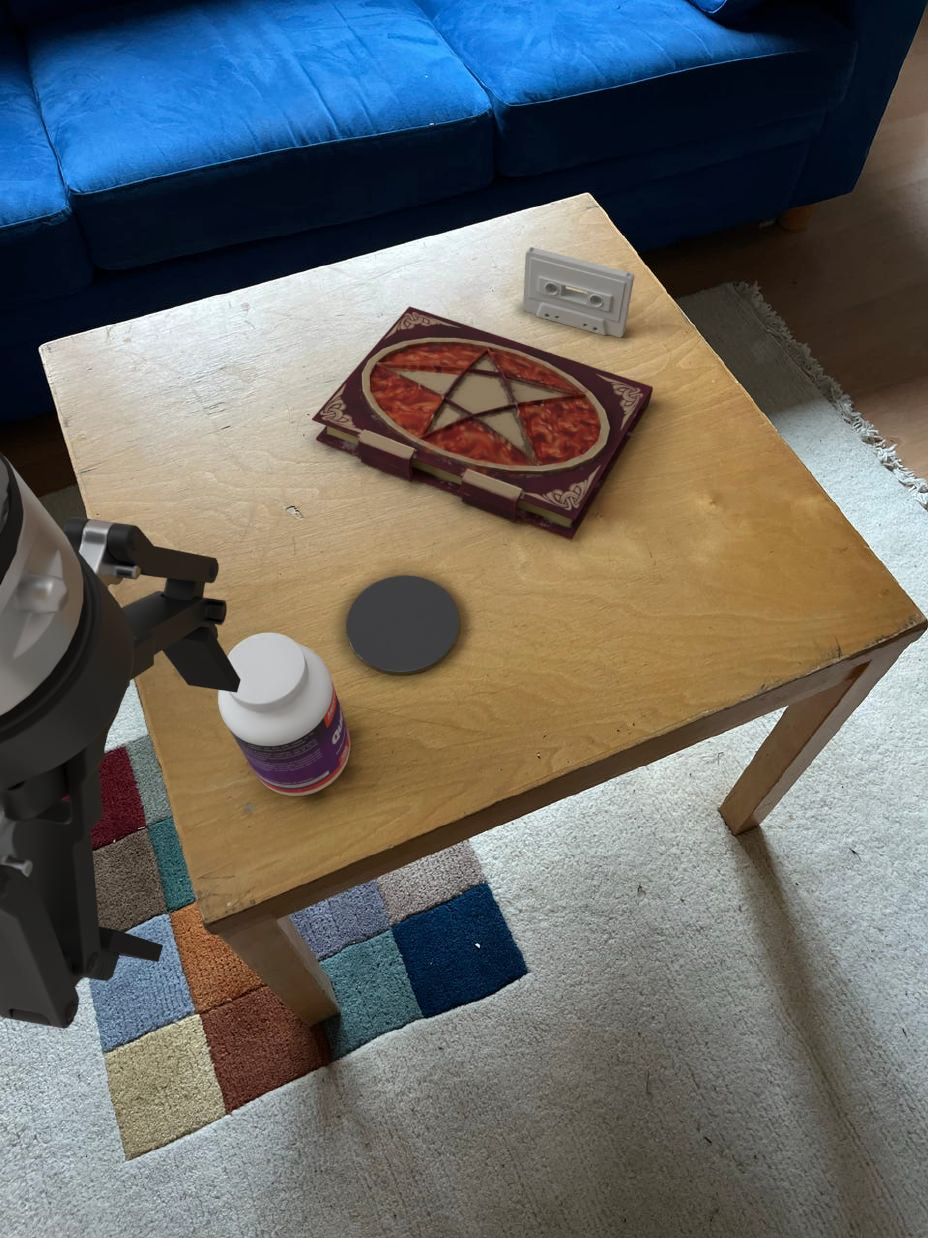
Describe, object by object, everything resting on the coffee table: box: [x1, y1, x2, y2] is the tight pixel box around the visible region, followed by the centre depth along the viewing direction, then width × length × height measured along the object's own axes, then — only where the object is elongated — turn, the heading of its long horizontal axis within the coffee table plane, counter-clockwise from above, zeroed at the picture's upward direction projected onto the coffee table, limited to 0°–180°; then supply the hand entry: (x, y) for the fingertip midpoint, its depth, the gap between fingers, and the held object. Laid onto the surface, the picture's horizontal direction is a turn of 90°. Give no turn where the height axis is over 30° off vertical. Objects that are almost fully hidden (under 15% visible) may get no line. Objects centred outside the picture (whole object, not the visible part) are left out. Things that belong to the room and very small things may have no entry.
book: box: [311, 306, 654, 540], centre depth 87 cm, size 28×21×5 cm
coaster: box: [345, 574, 461, 676], centre depth 76 cm, size 10×10×1 cm
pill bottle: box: [217, 632, 351, 797], centre depth 64 cm, size 8×8×14 cm
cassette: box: [522, 246, 635, 338], centre depth 94 cm, size 12×2×8 cm, turn 66°
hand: (176, 806), depth 43 cm, fingers open, 13 cm apart
